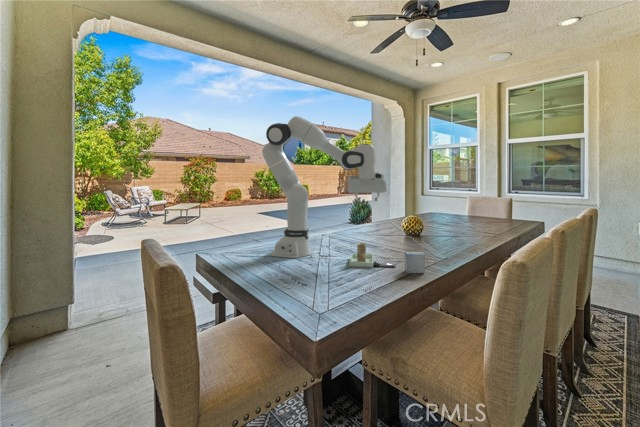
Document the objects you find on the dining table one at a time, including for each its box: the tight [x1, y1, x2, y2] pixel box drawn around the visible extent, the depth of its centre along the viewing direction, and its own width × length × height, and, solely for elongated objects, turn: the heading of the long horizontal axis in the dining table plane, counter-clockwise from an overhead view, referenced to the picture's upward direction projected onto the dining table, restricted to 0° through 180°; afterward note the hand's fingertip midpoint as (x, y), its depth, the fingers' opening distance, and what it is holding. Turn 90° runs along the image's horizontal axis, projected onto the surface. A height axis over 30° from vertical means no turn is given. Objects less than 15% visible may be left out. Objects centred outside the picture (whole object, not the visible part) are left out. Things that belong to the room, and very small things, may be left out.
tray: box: [348, 253, 375, 269], centre depth 151 cm, size 11×15×2 cm
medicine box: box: [404, 251, 426, 274], centre depth 136 cm, size 8×4×9 cm, turn 84°
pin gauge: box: [373, 261, 397, 268], centre depth 145 cm, size 10×2×2 cm, turn 79°
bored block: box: [356, 242, 367, 262], centre depth 151 cm, size 4×4×9 cm
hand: (367, 201), depth 163 cm, fingers open, 8 cm apart
